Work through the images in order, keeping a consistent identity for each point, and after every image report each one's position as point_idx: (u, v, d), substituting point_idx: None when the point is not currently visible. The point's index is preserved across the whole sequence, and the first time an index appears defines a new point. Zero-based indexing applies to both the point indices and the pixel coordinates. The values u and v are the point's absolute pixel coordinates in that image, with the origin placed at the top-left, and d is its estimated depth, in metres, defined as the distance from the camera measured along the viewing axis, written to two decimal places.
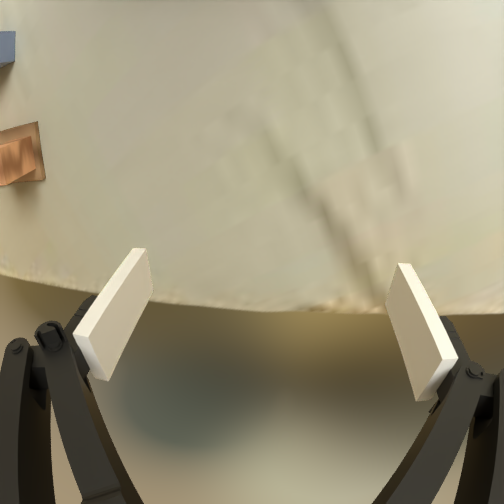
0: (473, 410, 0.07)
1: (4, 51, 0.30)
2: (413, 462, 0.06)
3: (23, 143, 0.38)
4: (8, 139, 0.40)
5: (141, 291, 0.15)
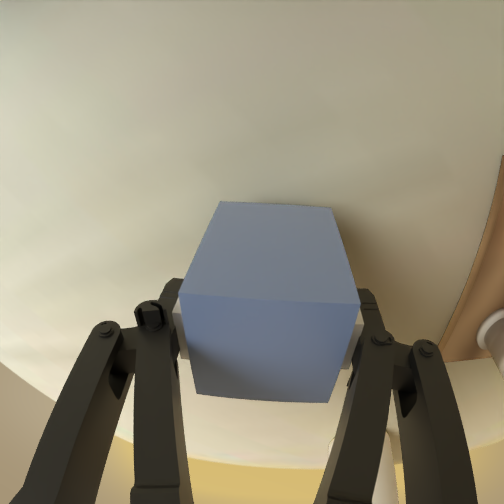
0: (391, 377, 0.09)
1: (296, 226, 0.14)
2: (342, 444, 0.07)
3: None
4: (500, 260, 0.18)
5: None
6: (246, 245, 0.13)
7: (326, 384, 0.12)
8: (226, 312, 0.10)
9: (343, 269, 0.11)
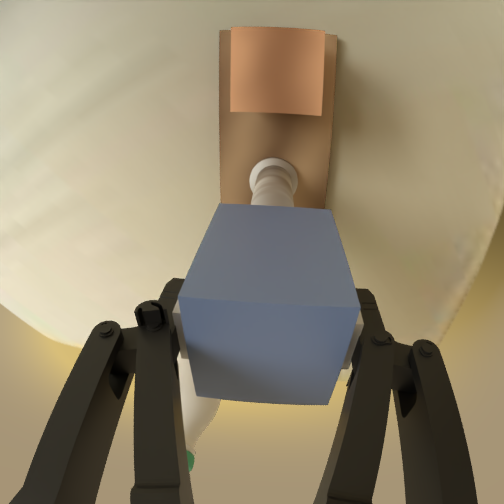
0: (391, 376, 0.09)
1: (296, 229, 0.14)
2: (342, 444, 0.07)
3: None
4: None
5: None
6: (246, 248, 0.13)
7: (326, 387, 0.12)
8: (226, 315, 0.10)
9: (343, 272, 0.11)
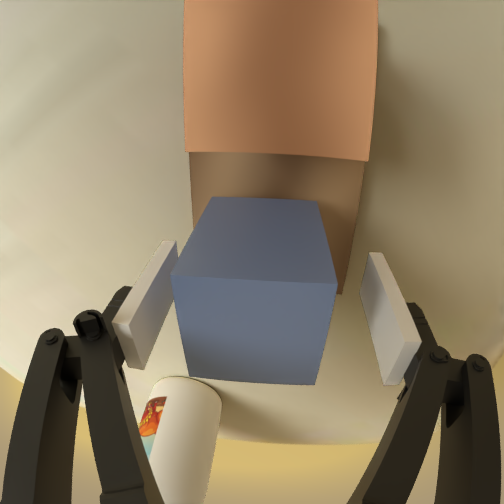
0: (442, 394, 0.08)
1: (282, 217, 0.15)
2: (386, 452, 0.07)
3: None
4: None
5: None
6: (234, 234, 0.14)
7: (311, 365, 0.13)
8: (214, 293, 0.11)
9: (323, 254, 0.12)
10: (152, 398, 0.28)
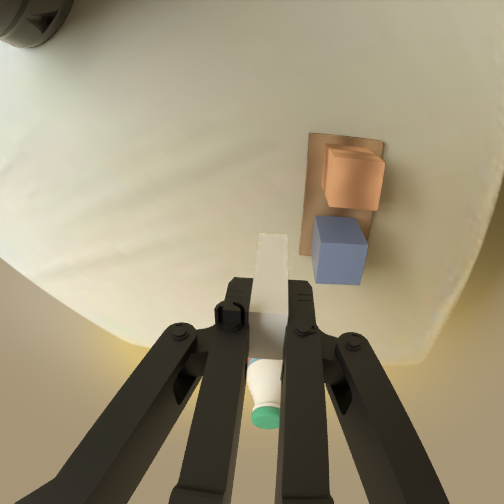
0: (321, 366, 0.10)
1: (345, 225, 0.40)
2: (284, 442, 0.07)
3: (333, 147, 0.37)
4: (319, 188, 0.42)
5: None
6: (332, 230, 0.39)
7: (359, 275, 0.38)
8: (333, 248, 0.36)
9: (362, 237, 0.37)
10: None
